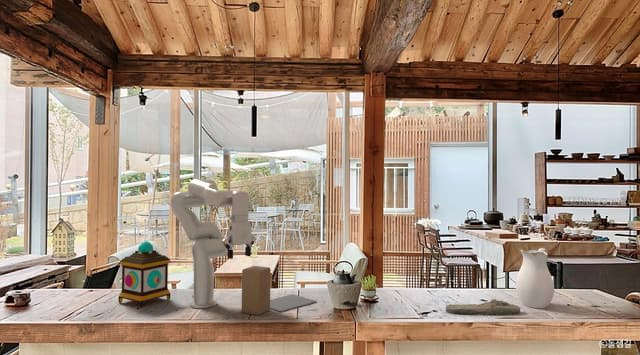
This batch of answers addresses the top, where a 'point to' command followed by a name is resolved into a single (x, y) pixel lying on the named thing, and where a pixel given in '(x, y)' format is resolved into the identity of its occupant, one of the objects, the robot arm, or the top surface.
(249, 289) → the wooden block
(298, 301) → the mat
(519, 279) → the pitcher
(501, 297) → the top surface
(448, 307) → the long grey stone
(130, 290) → the decorative lantern
